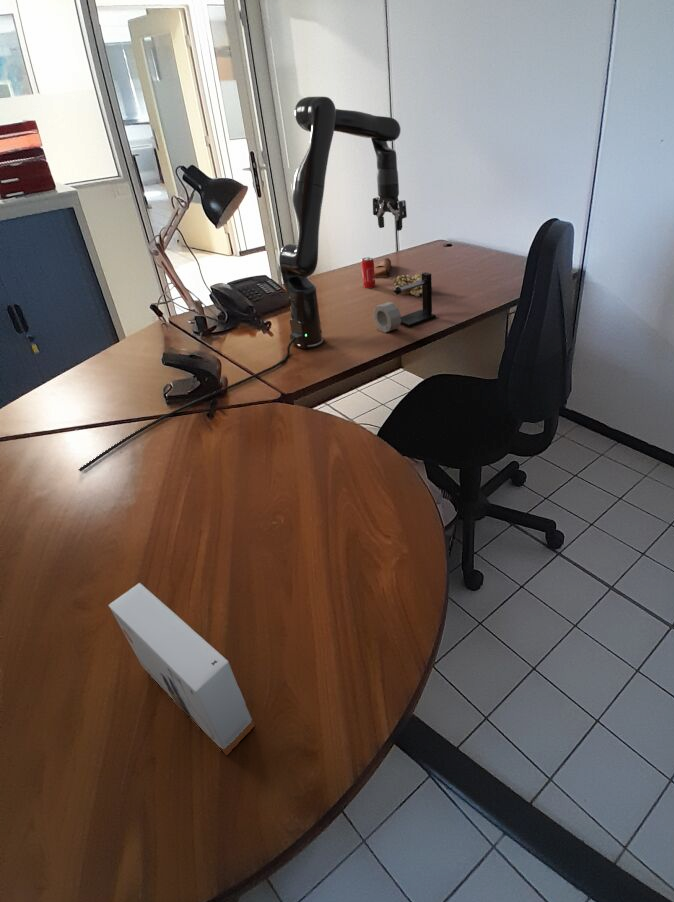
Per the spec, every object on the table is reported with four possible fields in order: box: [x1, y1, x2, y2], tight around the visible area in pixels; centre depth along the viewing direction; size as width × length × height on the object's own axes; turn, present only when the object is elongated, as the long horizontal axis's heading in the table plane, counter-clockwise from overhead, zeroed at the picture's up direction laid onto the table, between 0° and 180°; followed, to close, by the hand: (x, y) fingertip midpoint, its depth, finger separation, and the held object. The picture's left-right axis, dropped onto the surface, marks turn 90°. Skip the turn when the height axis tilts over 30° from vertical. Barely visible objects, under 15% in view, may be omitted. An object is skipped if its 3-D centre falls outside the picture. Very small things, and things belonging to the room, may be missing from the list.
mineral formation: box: [393, 273, 422, 298], centre depth 226 cm, size 8×13×15 cm
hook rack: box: [393, 272, 437, 329], centre depth 197 cm, size 16×8×16 cm, turn 130°
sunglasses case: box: [374, 257, 392, 278], centre depth 254 cm, size 18×7×7 cm
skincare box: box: [108, 582, 253, 749], centre depth 75 cm, size 21×6×16 cm, turn 52°
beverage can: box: [361, 256, 376, 289], centre depth 234 cm, size 5×5×12 cm
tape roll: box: [373, 301, 402, 334], centre depth 192 cm, size 5×10×10 cm, turn 40°
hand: (390, 228), depth 201 cm, fingers open, 8 cm apart
